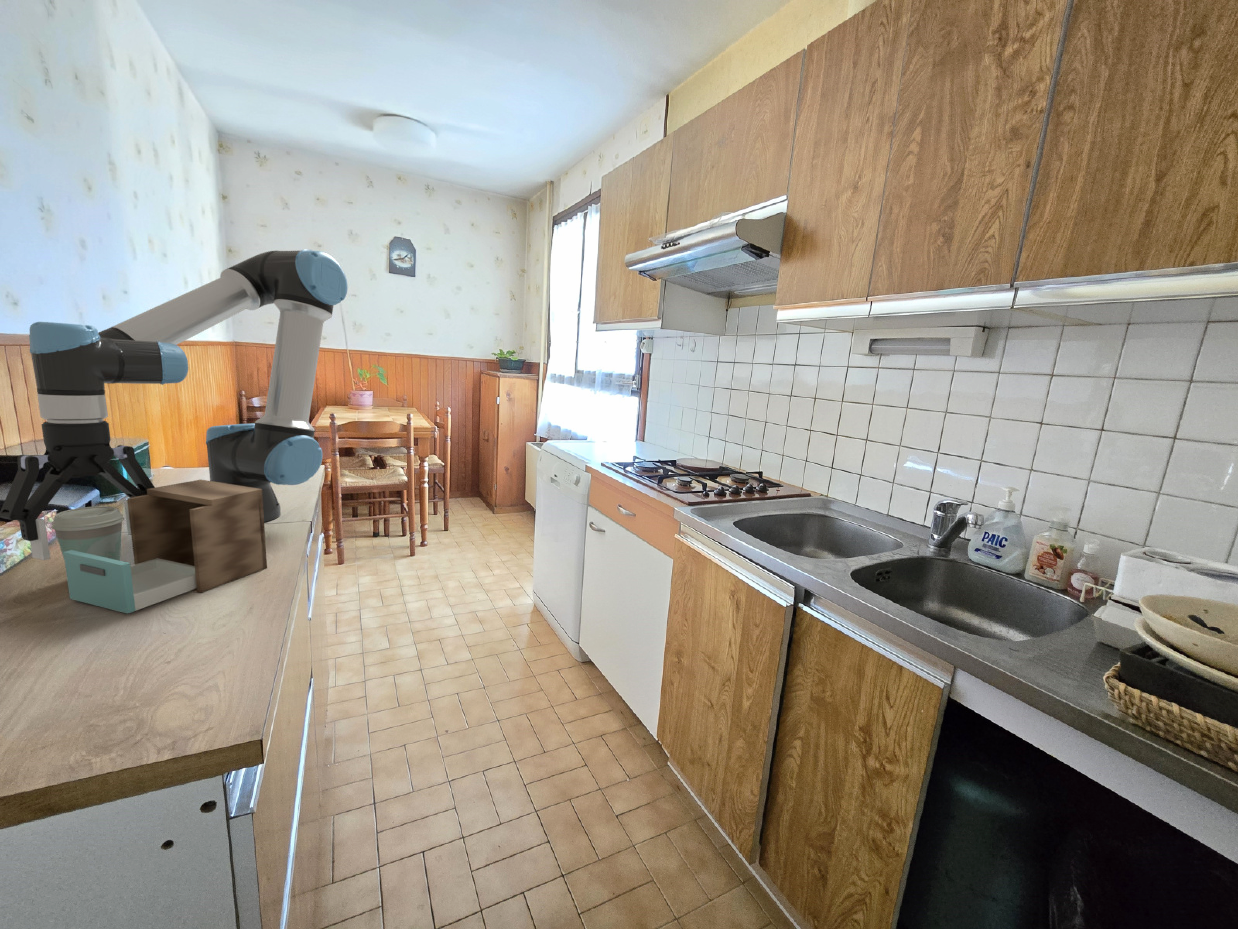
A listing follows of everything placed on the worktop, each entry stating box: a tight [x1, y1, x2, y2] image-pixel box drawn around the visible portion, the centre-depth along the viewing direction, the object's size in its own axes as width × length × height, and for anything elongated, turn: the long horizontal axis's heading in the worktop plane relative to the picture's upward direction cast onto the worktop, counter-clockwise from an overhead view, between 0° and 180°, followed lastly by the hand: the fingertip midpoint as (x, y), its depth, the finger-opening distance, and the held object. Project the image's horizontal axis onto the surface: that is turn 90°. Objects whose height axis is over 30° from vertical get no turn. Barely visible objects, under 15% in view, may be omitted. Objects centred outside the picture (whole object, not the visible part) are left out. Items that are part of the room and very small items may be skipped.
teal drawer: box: [63, 550, 197, 614], centre depth 82 cm, size 12×13×8 cm
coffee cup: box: [51, 505, 125, 562], centre depth 86 cm, size 8×8×12 cm
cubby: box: [126, 479, 268, 594], centre depth 91 cm, size 12×15×16 cm
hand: (91, 546), depth 86 cm, fingers open, 12 cm apart
